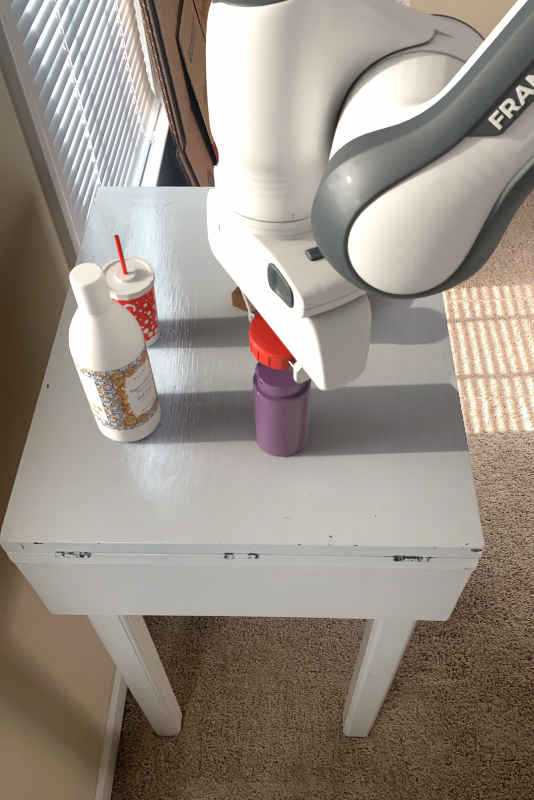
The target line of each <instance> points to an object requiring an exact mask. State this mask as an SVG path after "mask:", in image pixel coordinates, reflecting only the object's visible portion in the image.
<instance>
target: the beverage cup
mask: <svg viewBox="0 0 534 800" xmlns="http://www.w3.org/2000/svg"><path fill="white" fill-rule="evenodd" d="M113 236H114V241H115V246H116V249H117V253H118V254H117V255H118V257H117V258H113V259H111V260H110V261H108V262H106V263H104V265H102V266H101V267H102V269H103V271H104V273H105V277H106V281H107V284H108V288H109V292H110V295H111V299H113V300H114V301H116V302H118V303H119V304H121V305H122V306H124V307H125V308H126V309H127V310H128V311H129V312H130V313H131V314H132V315H133V316H134V317H135V319H136V320H137V322H138V324H139V325H140V328H141V330H142V332H143V335H144V339H145V343H146V347H147V348H149V347H151V346H153V345H154V344H155V343H157V341H158V340H159V338H160V333H161V331H160V323H159V314H158V307H157V299H156V298H157V297H156V291H155V282H156V276H155V275H156V273H155V270H154V266H153V265H152V264H151V263H150V262H149V261H148V260H146V259H144V258H141V257H138V256H134V255H133V256H128V255H127V256H126V255H125V256H124V252H123V248H122V243H121V240H120V239H121V238H120V235H119V234H114V235H113Z"/></svg>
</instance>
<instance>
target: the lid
mask: <svg viewBox="0 0 534 800" xmlns="http://www.w3.org/2000/svg"><path fill="white" fill-rule="evenodd" d="M248 342H249V347H250V353H251V354H252V355H253V357H254V358H255V359H256V361H257V362H258V361H259V362H260V363H262V364H263V365H265V366H267V367H270V368H273V369H279V370H288V369H289V367H288V361H289V360H291V359H294V358H295V357H294V356H293V355H292V354H291V352H290V351H289V350H288V349H287V347H286V346H285V345H284V343H283V342H282V341H281V340H280V338H279V337H278V336H277V335H276V333H275V332H274V331H273V330H272V328H271V327H270V326H269V324H268V323H267V322H266V321H265V319H264V318H263V317H262V316H261V314H260V313H258V314H257V315H256V316H255V317H254V318H253V320H252V322H251V323H250V325H249V330H248Z"/></svg>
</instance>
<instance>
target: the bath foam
mask: <svg viewBox="0 0 534 800" xmlns="http://www.w3.org/2000/svg"><path fill="white" fill-rule="evenodd" d="M102 267H103V266H101V265H99V264H97V263H95V262H82V263H81V264H78V265H76V266H74V267H73V268H72V269H71V271H70V273H69V281H70V285H71V288H72V291H73V294H74V297H75V299H76V303H77V305H78V307H77V309H76V311H75V313H74V315H73V317H72V320H71V323H70V326H69V331H68V343H69V350H70V354H71V357H72V360H73V362H74V365H75V368H76V370H77V373H78V376H79V379H80V381H81V383H82V387H83V389H84V392H85V394H86V398H87V401H88V403H89V405H90V409H91V411H92V414H93V416H94V418H95V421H96V424H97V426H98V429H99V431H100V432H101V433H102V434H103V435H104V436H105V437H107V438H109V439H110V440H112V441H115V442H120V443H132V442H133V443H134V442H138V441H140V440H142V439H145V438H147V437H148V436H149V435H151V434H152V433H153V432H154V431H155V430H156V428H157V427H158V426H159V424H160V422H161V419H162V408H161V403H160V399H159V394H158V390H157V387H156V382H155V377H154V373H153V368H152V365H151V361H150V357H149V351H148V347H146V343H145V339H144V335H143V332H142V330H141V328H140V325H139V324H138V322H137V320H136V319H135V317H134V316H133V315H132V314H131V313H130V312H129V311H128V310H127V309H126V308H125V307H124V306H122V305H121V304H119V303H118V302H116V301H114V300H113V299H111V295H110V292H109V288H108V284H107V281H106V277H105V273H104V271H103V269H102Z"/></svg>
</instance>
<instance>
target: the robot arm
mask: <svg viewBox="0 0 534 800" xmlns="http://www.w3.org/2000/svg"><path fill="white" fill-rule="evenodd" d="M206 21H207V22H206V35H205V36H206V37H205V41H206V42H205V67H206V68H205V70H206V72H205V73H206V89H207V90H206V91H207V92H206V94H207V95H206V96H207V105H208V106H207V108H208V119H209V128H210V133H211V135H212V138H213V141H214V143H215V146H216V149H217V153H218V161H217V163H216V164H215V165H213V177H214V187H212V188H210V189H209V191H208V192H207V196H206V197H207V198H206V221H207V238H208V239H207V240H208V243H209V246H210V249H211V251H212V254H213V257H215V259H216V260H217V261H218V263H219V264H220V265H221V266H222V268H223V269H224V270H225V271H226V273H227V274H228V275H229V277H230V278H231V279H232V280H233V281H234V283H235V284H236V286H237V287H238V286H239V288H240V290H241V293H242V295H243V298H244V301H245V303H246V306H247V308H248V312H247V314H248V322H249V323H250V324H251V322H252V320H253V318H254V317H255V316H256V315H257V314H258V313H260V314H261V316H262V317H263V318H264V319H265V321H266V322H267V323H268V324H269V326H270V327H271V328H272V330H273V331H274V332H275V333H276V335H277V336H278V337H279V338H280V340H281V341H282V342H283V343H284V345H285V346H286V347H287V349H288V350H289V351H290V352H291V354H292V355H293V356H294V357H295V358H294V359H291V360H289V361H288V367H289V369H288V372H289V373H290V374H291V376H292V377H293V378H294V380H295V381H296V382H297V383H299V384H300V383H302V382H304V381H307V380H309V379H311V381H313V383H314V384H315V386H316V387H317V388H318V389H319V390H320V391H322V392H328V391H332V390H336V389H338V388H340V387H343V386H345V385H348V384H350V383H351V382H353V381H355V380H356V379H358V378H359V377H361V375H363V373H364V372H365V369H366V365H367V360H368V355H369V349H370V341H371V334H372V333H371V332H372V318H373V317H372V309H371V304H370V303H371V302H370V301H369V297H368V295H367V294H370V295H373V296H377V297H380V298H386V299H391V300H416V299H423V298H427V297H431V296H434V295H435V296H436V295H438V294H441V293H443V292H446V291H448V290H451V289H453V288H455V287H457V286H458V285H461V284H462V283H464V282H466V281H467V280H469V279H470V278H471V277H473V276H474V275H476V273H478V272H479V271H480V270H481V269H482V268H483V267H484V266H485V265H486V263H487V262H488V261H489V260H490V258H491V257H492V256H493V254H494V252H495V251H496V250H497V248H498V246H499V244H500V243H501V240H502V238H503V237H504V235H505V233H506V232H507V229H508V227H509V226H510V224H511V222H512V220H513V218H514V217H515V215H516V214H517V212H518V211H519V209H520V208H521V206H522V205H523V204H524V202H525V201H526V199H527V198H528V197H529V196H530V195H531V194H532V192H533V191H534V0H517V1H515V4H514V5H512V7H511V8H510V9H509V11H508V12H507V13H506V14H505V16H503V18H501V20H500V21H499V23H498V24H497V25H495V27H494V29H493V30H492V31H491V32H490V33H489V35H488V36H487V37H486V38H485V37H484V36H483V35H482V34H481V33H480V32H479V30H476V29H475V28H474V27H473V26H471V25H470V24H468V23H467V22H465V21H464V20H461V19H459V18H456V17H453V16H450V15H446V14H440V13H439V14H438V13H428V12H425V11H421V10H419V9H416V8H413V7H410V6H408V5H406V4H404V3H401V2H399V1H398V0H211V1H210V6H209V9H208V15H207V20H206Z"/></svg>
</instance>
